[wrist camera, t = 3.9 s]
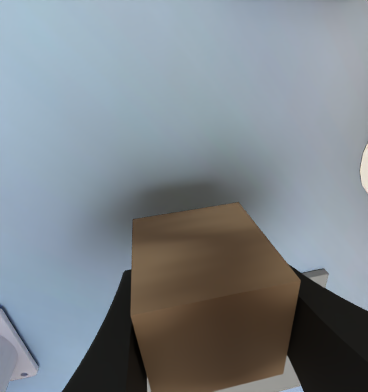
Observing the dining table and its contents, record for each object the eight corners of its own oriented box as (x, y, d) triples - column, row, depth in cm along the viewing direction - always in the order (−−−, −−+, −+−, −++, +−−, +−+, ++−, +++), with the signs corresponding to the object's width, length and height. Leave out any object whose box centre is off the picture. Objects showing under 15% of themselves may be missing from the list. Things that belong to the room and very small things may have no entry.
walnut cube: (148, 296, 13) (155, 406, 9) (132, 219, 11) (130, 315, 7) (236, 279, 14) (283, 373, 10) (238, 202, 12) (301, 280, 7)
